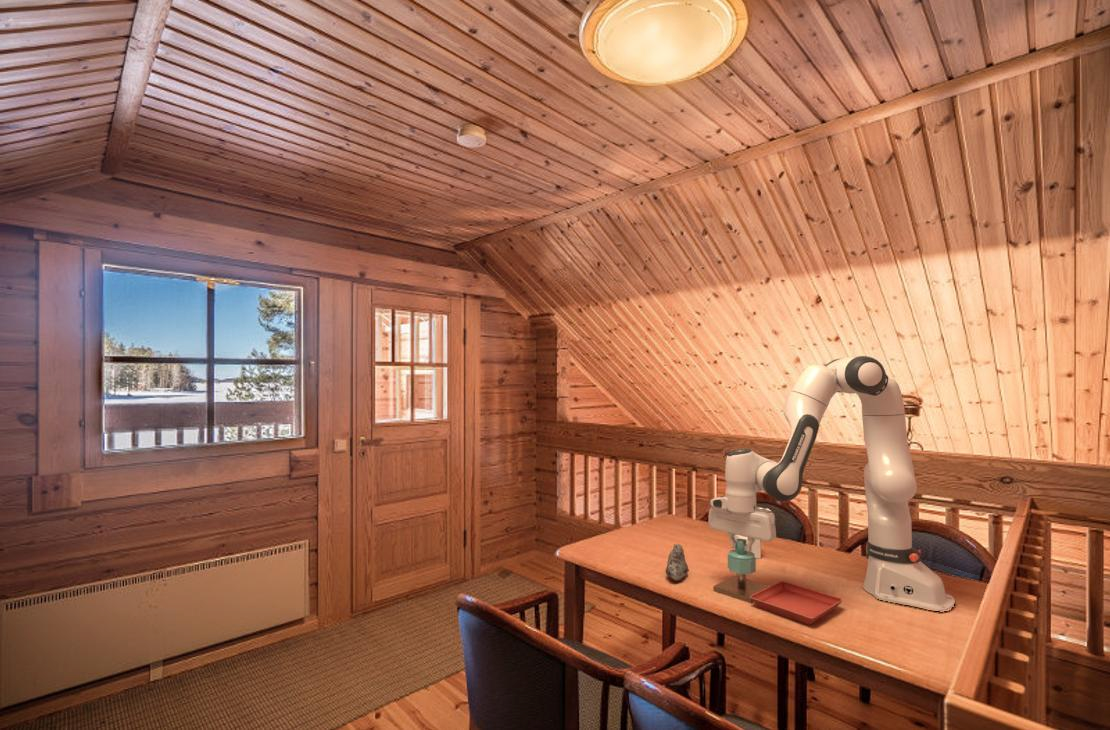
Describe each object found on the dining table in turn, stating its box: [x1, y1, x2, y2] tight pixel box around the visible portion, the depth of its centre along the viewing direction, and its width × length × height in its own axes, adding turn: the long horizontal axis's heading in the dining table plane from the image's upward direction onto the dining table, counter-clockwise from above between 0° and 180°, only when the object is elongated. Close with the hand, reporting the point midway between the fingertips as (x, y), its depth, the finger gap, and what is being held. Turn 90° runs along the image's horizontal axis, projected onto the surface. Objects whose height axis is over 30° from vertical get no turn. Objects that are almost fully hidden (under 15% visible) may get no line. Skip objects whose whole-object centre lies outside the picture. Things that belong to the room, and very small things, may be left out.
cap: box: [727, 539, 757, 575], centre depth 162 cm, size 7×7×9 cm
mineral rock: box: [665, 543, 690, 581], centre depth 174 cm, size 13×11×10 cm
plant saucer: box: [750, 580, 843, 625], centre depth 150 cm, size 18×18×3 cm
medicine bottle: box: [734, 534, 762, 560], centre depth 193 cm, size 7×7×12 cm
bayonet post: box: [712, 573, 771, 604], centre depth 161 cm, size 12×12×10 cm
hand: (741, 549), depth 162 cm, fingers closed on cap, 3 cm apart
